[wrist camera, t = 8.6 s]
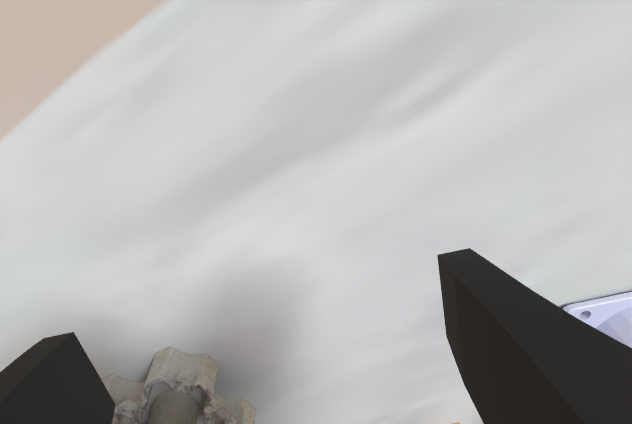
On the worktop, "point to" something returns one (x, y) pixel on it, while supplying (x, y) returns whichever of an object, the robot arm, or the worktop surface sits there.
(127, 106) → the worktop surface
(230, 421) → the egg carton
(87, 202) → the worktop surface
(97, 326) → the worktop surface
